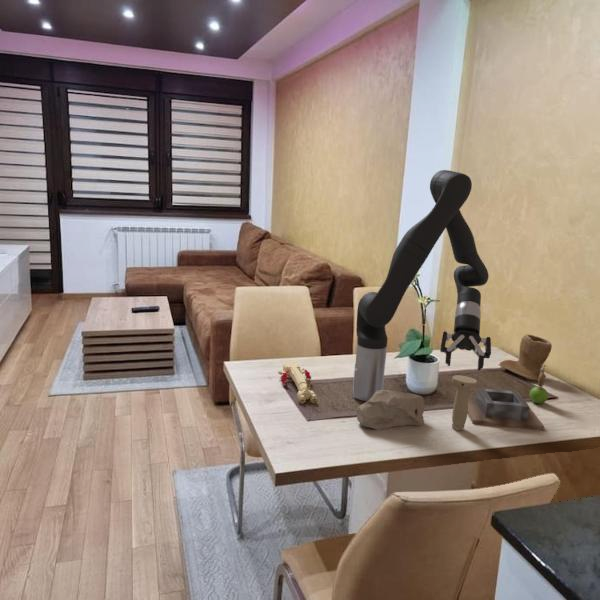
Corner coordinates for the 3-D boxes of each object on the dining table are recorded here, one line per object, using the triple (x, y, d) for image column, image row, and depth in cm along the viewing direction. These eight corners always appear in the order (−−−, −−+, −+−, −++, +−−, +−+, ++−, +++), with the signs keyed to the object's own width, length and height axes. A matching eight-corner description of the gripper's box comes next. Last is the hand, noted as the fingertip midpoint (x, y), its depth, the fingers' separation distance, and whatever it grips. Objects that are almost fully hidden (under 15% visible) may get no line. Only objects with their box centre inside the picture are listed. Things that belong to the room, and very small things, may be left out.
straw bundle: (323, 406, 160) (302, 369, 183) (325, 381, 157) (304, 347, 180) (291, 408, 157) (274, 371, 180) (293, 382, 155) (275, 348, 178)
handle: (467, 435, 144) (475, 384, 141) (444, 428, 147) (451, 379, 144) (470, 428, 148) (478, 379, 145) (448, 422, 151) (454, 373, 148)
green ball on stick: (546, 400, 170) (552, 366, 168) (546, 407, 165) (552, 372, 162) (528, 396, 173) (534, 362, 170) (527, 403, 167) (533, 368, 164)
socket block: (472, 423, 151) (475, 405, 150) (461, 400, 167) (463, 383, 165) (543, 430, 150) (546, 411, 148) (525, 406, 165) (528, 389, 164)
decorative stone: (416, 415, 155) (419, 383, 153) (429, 426, 148) (433, 394, 146) (353, 421, 149) (356, 388, 147) (364, 433, 142) (367, 399, 140)
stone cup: (553, 380, 189) (560, 340, 185) (530, 384, 183) (538, 344, 180) (519, 365, 202) (525, 328, 198) (497, 369, 196) (503, 331, 193)
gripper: (444, 310, 159) (439, 358, 151) (493, 316, 155) (491, 365, 147) (442, 322, 165) (438, 369, 157) (489, 328, 162) (487, 376, 154)
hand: (464, 367), depth 152 cm, fingers open, 8 cm apart
